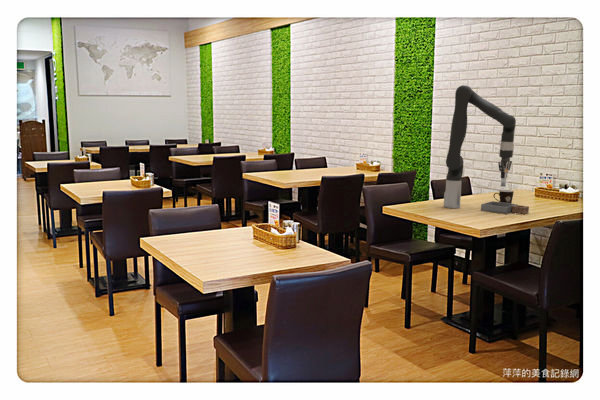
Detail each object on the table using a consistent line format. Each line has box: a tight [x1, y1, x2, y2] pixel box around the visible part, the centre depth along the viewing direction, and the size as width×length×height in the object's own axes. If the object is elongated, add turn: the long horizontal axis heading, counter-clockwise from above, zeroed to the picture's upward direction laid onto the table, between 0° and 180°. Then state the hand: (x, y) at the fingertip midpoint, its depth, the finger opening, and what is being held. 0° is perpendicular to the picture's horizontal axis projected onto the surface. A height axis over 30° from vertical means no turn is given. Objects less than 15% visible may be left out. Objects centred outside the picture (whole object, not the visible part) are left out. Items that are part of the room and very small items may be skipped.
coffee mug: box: [493, 189, 514, 204], centre depth 349 cm, size 12×9×10 cm
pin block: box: [511, 204, 530, 216], centre depth 326 cm, size 7×7×4 cm
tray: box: [480, 200, 518, 215], centre depth 334 cm, size 16×15×4 cm
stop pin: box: [500, 169, 508, 188], centre depth 330 cm, size 3×3×10 cm
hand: (503, 177), depth 330 cm, fingers closed on stop pin, 3 cm apart
